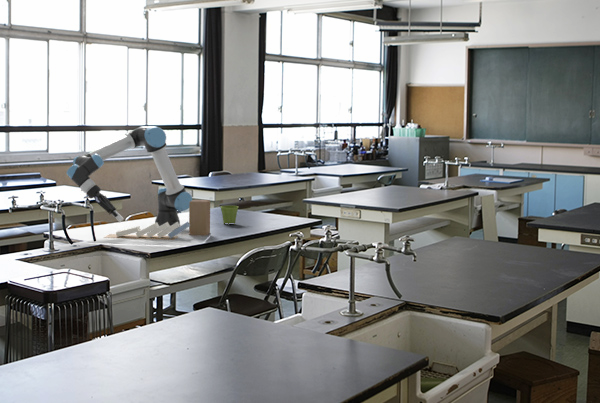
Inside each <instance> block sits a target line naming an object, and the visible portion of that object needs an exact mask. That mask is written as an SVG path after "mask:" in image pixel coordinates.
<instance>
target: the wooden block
mask: <svg viewBox="0 0 600 403" xmlns="http://www.w3.org/2000/svg"><path fill="white" fill-rule="evenodd" d="M188 211H189V212H188V213H189V214H188V215H189V216H188V220H189V221H188V222H189V224H190V226H189V227H188V235H189V236H202V237H203V236H204V237H206V236H208V235H210V234H211V200H210V199H192V201H190V202H189V209H188Z"/></svg>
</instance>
